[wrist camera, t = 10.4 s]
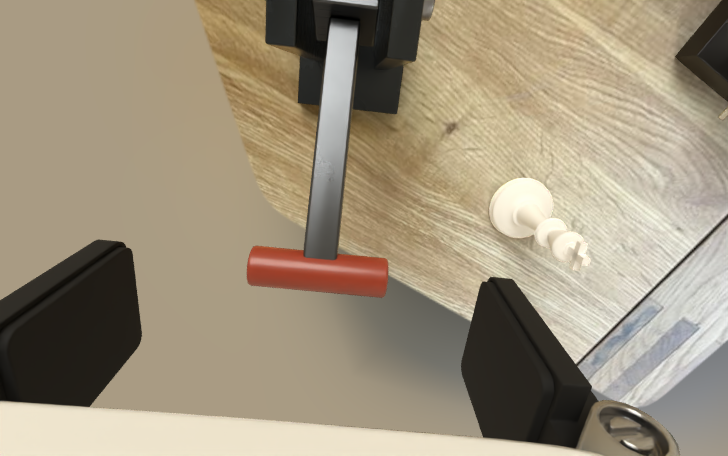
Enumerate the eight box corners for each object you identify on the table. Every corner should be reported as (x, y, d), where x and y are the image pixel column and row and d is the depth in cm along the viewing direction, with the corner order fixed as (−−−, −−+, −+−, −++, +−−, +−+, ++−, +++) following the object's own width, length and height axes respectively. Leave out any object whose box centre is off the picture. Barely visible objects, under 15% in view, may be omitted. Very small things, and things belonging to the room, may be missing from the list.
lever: (380, 294, 14) (388, 302, 12) (256, 282, 14) (239, 288, 12) (410, -18, 15) (421, -69, 13) (293, -33, 15) (284, -87, 13)
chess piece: (483, 233, 32) (532, 296, 23) (496, 174, 31) (555, 216, 21) (541, 238, 32) (614, 303, 23) (558, 180, 31) (643, 225, 21)
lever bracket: (395, 112, 29) (431, 149, 14) (300, 102, 29) (234, 127, 14) (416, -48, 25) (494, -222, 11) (308, -62, 25) (231, -263, 10)
